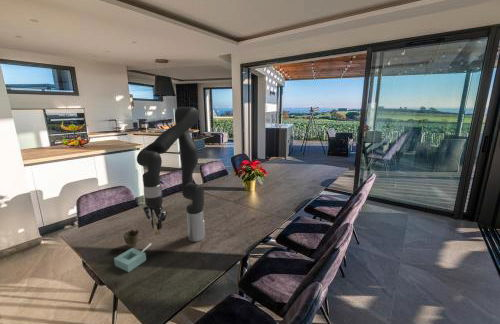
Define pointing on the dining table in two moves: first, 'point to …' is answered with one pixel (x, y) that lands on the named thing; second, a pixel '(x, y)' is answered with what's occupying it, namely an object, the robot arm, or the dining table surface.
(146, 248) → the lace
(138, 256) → the teal open tray
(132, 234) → the cup
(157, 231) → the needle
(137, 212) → the dining table surface
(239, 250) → the dining table surface
